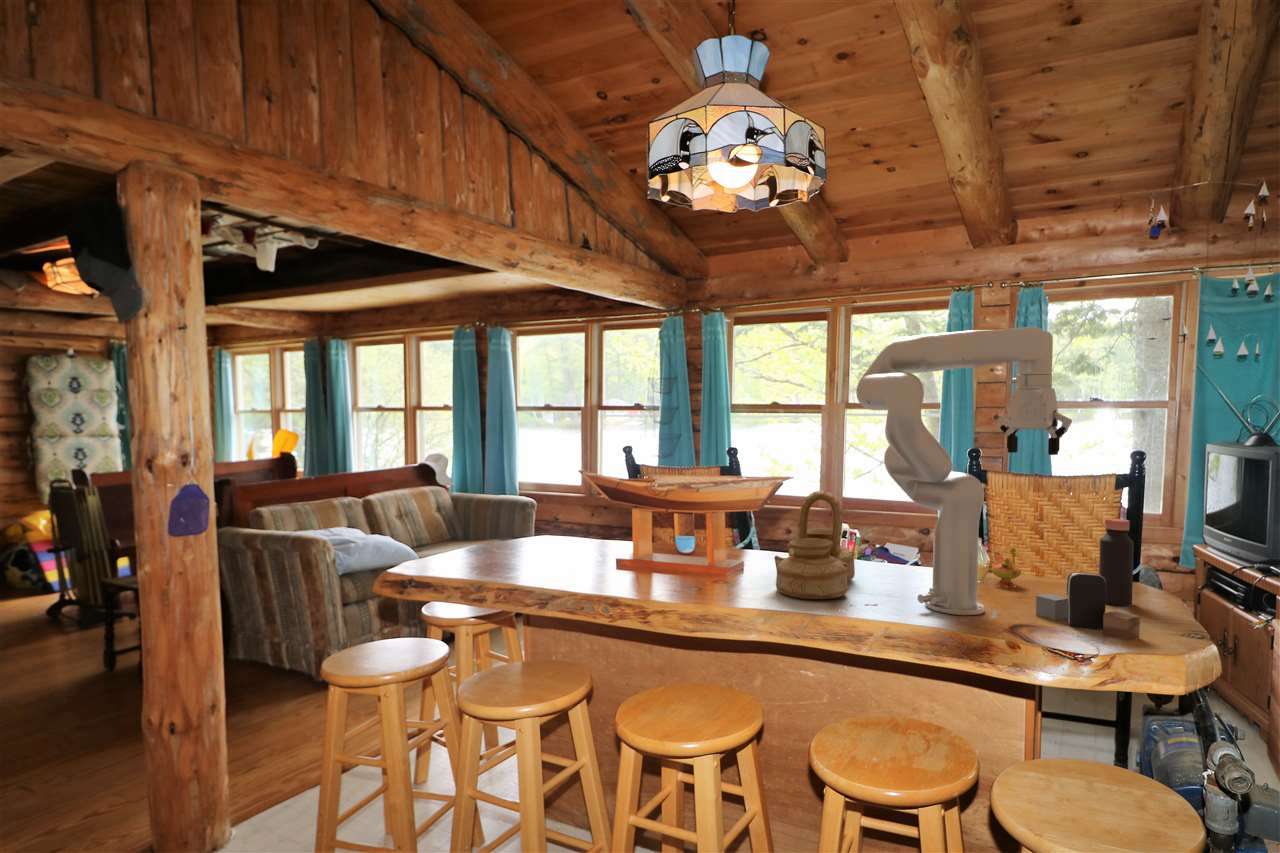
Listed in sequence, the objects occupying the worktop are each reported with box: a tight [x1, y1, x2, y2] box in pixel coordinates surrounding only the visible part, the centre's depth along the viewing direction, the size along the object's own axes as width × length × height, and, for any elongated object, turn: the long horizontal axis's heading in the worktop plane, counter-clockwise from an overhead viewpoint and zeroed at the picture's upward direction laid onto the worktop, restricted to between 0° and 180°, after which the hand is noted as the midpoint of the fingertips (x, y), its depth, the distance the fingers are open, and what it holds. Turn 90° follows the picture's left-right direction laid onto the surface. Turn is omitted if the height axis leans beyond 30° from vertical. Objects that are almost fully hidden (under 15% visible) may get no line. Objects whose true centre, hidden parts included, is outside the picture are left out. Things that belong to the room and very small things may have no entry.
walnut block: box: [1102, 610, 1141, 642], centre depth 147 cm, size 4×4×4 cm
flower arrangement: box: [991, 547, 1021, 588], centre depth 191 cm, size 7×18×11 cm, turn 167°
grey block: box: [1035, 593, 1069, 621], centre depth 161 cm, size 4×4×4 cm
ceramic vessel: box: [774, 490, 856, 600], centre depth 187 cm, size 34×18×25 cm, turn 159°
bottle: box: [1098, 517, 1135, 607], centre depth 172 cm, size 7×7×20 cm
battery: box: [1066, 571, 1107, 630], centre depth 154 cm, size 7×4×11 cm, turn 72°
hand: (1032, 453), depth 174 cm, fingers open, 9 cm apart
